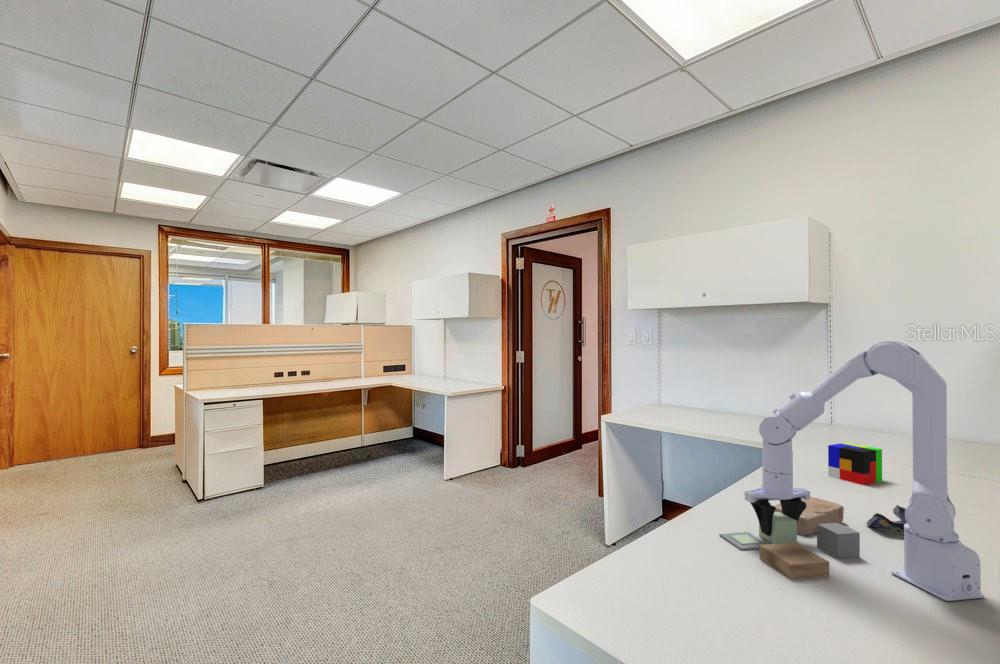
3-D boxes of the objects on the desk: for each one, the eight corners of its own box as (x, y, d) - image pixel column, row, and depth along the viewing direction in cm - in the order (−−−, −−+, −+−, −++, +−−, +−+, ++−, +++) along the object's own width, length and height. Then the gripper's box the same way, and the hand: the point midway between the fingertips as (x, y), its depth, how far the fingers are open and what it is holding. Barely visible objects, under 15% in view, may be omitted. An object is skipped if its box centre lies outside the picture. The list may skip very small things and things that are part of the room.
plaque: (771, 548, 95) (771, 545, 95) (740, 550, 94) (740, 547, 94) (747, 533, 102) (748, 531, 102) (719, 535, 101) (719, 533, 101)
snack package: (881, 519, 112) (858, 528, 106) (887, 494, 111) (864, 501, 105) (948, 548, 102) (926, 559, 96) (955, 520, 101) (934, 529, 95)
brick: (804, 537, 101) (804, 516, 101) (768, 523, 109) (768, 504, 109) (845, 524, 109) (845, 505, 109) (808, 512, 116) (808, 494, 116)
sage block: (796, 544, 98) (796, 520, 98) (776, 545, 97) (775, 521, 97) (779, 534, 102) (779, 511, 103) (759, 535, 102) (759, 513, 102)
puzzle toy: (828, 476, 147) (828, 445, 147) (846, 472, 151) (846, 442, 151) (863, 485, 138) (863, 452, 138) (882, 481, 142) (882, 449, 142)
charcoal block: (859, 557, 92) (859, 532, 92) (838, 559, 91) (838, 534, 91) (837, 546, 97) (837, 522, 97) (817, 547, 96) (816, 524, 96)
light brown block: (829, 577, 84) (829, 561, 85) (790, 581, 83) (790, 564, 83) (795, 557, 92) (795, 542, 92) (759, 559, 91) (759, 544, 91)
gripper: (792, 464, 105) (792, 523, 105) (735, 466, 103) (735, 527, 102) (818, 473, 98) (818, 536, 98) (757, 476, 96) (757, 541, 96)
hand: (777, 533), depth 100 cm, fingers closed on sage block, 5 cm apart
